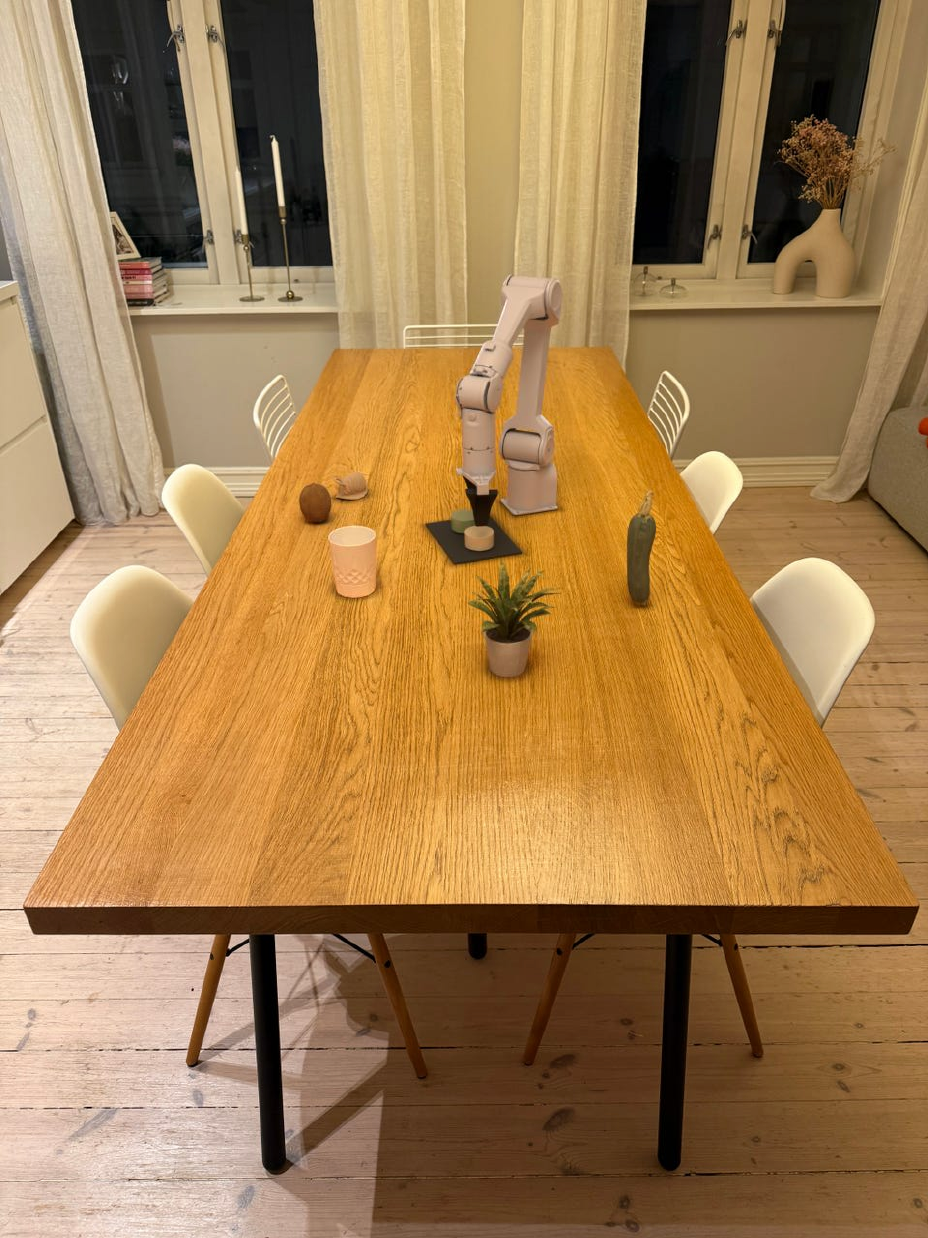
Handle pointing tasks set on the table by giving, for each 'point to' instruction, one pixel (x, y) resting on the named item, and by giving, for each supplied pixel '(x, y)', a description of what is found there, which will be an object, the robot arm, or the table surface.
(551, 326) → the robot arm
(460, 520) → the sage green puck
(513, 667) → the house plant
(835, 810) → the table surface
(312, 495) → the fruit
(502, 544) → the mat
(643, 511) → the vegetable
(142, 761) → the table surface
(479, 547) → the cream cylinder
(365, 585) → the pink cup
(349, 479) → the decorative ornament
